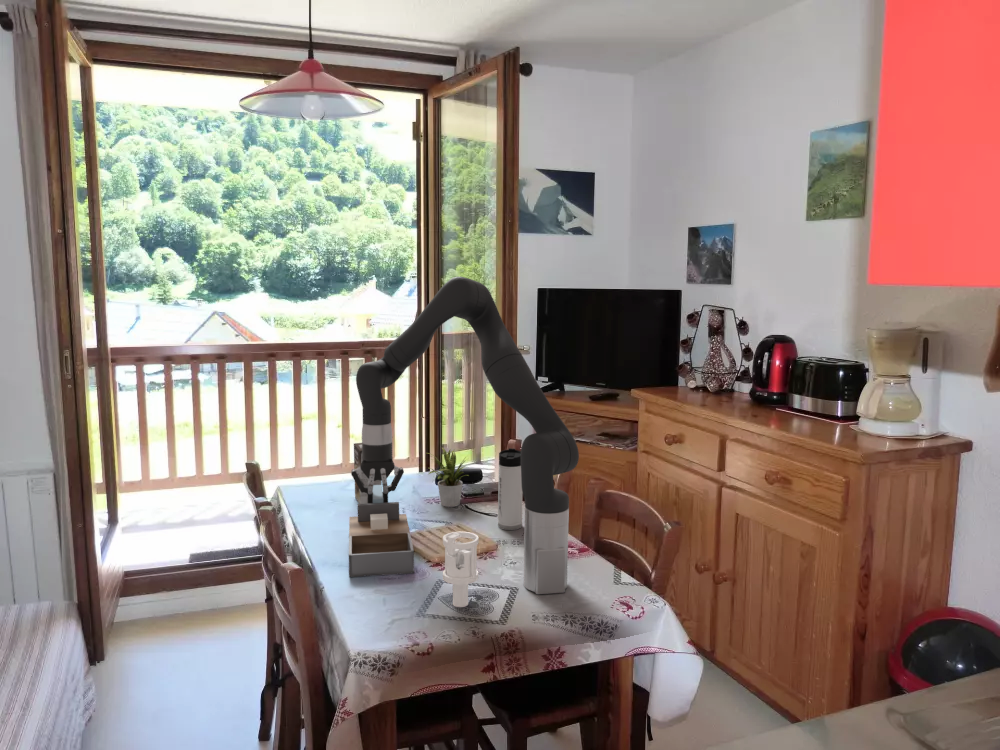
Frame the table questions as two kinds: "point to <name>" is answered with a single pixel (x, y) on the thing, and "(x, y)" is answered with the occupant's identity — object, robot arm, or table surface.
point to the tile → (378, 521)
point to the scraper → (378, 507)
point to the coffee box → (359, 495)
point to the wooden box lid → (379, 536)
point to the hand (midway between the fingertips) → (378, 507)
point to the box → (381, 562)
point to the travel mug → (510, 490)
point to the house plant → (449, 480)
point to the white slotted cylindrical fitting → (460, 565)
